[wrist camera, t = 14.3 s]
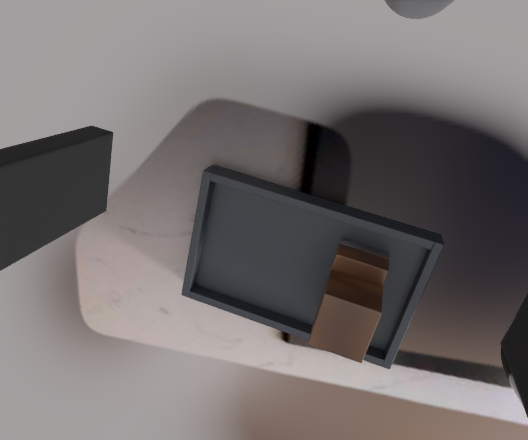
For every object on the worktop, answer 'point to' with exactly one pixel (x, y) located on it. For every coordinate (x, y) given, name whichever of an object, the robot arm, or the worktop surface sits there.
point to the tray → (297, 256)
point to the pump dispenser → (508, 371)
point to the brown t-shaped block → (351, 301)
